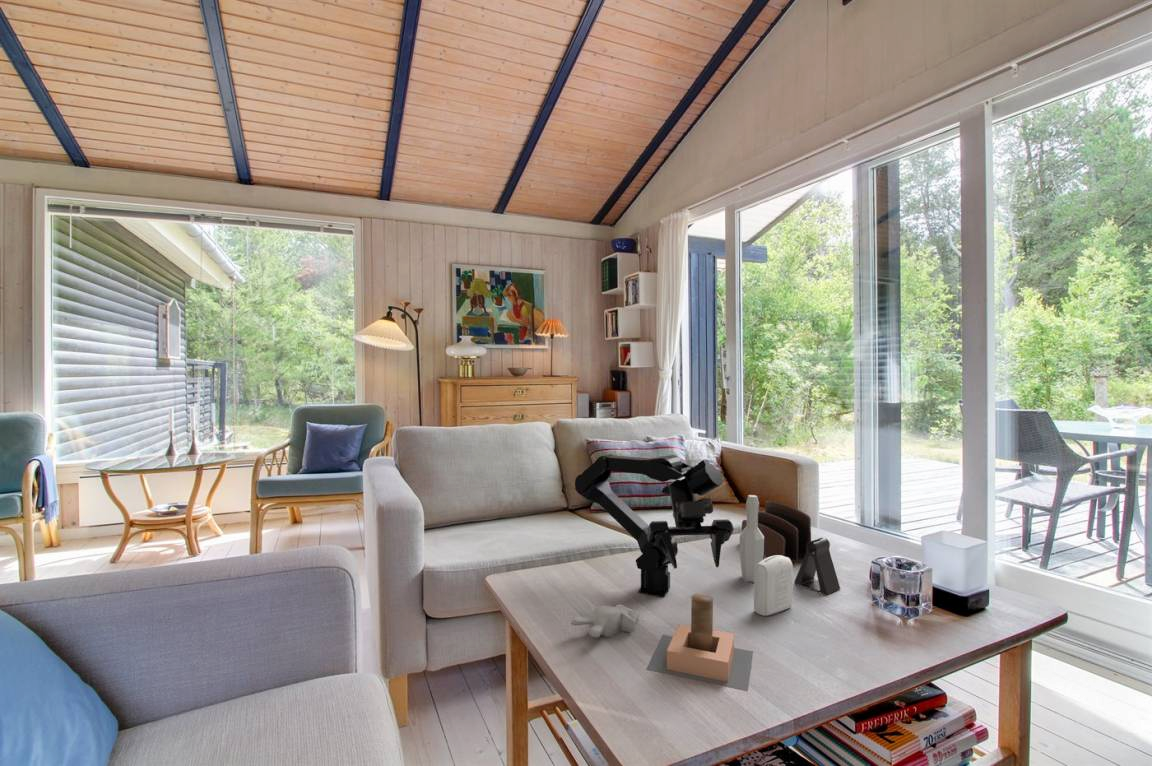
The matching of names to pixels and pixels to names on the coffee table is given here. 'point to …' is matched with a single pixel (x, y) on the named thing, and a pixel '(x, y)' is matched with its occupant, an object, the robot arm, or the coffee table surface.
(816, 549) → the phone stand
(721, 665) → the socket block
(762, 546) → the faceted bottle
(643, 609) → the coffee table surface
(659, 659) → the mat
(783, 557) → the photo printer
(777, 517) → the letter holder
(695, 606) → the walnut peg
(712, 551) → the robot arm
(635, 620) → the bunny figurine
